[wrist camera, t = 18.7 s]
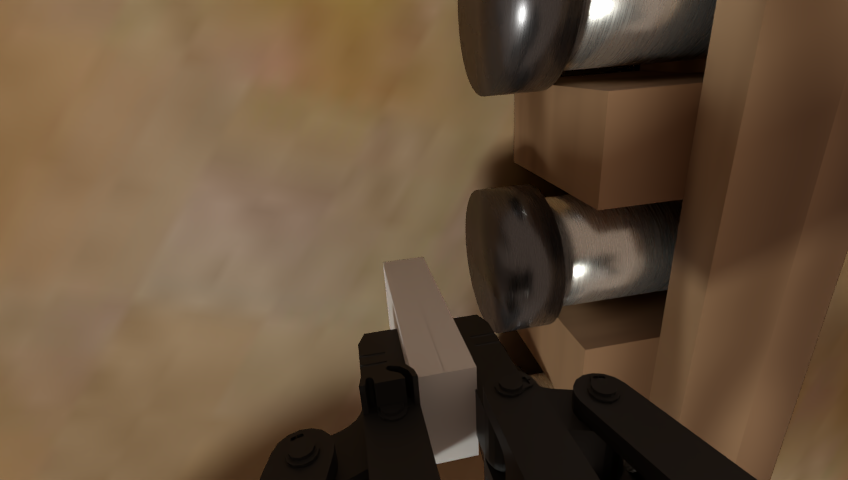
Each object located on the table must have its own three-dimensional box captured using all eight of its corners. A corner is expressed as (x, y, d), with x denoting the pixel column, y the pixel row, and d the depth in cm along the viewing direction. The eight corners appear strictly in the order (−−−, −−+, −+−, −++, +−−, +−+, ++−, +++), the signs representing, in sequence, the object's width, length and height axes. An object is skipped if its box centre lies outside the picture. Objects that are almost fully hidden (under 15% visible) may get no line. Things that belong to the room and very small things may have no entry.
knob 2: (467, 289, 21) (508, 363, 16) (463, 174, 19) (510, 217, 14) (636, 264, 22) (726, 325, 17) (651, 153, 20) (759, 185, 15)
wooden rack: (510, 421, 27) (585, 579, 19) (517, -122, 16) (692, -306, 8) (630, 398, 28) (750, 538, 20) (707, -126, 18) (1030, -291, 9)
